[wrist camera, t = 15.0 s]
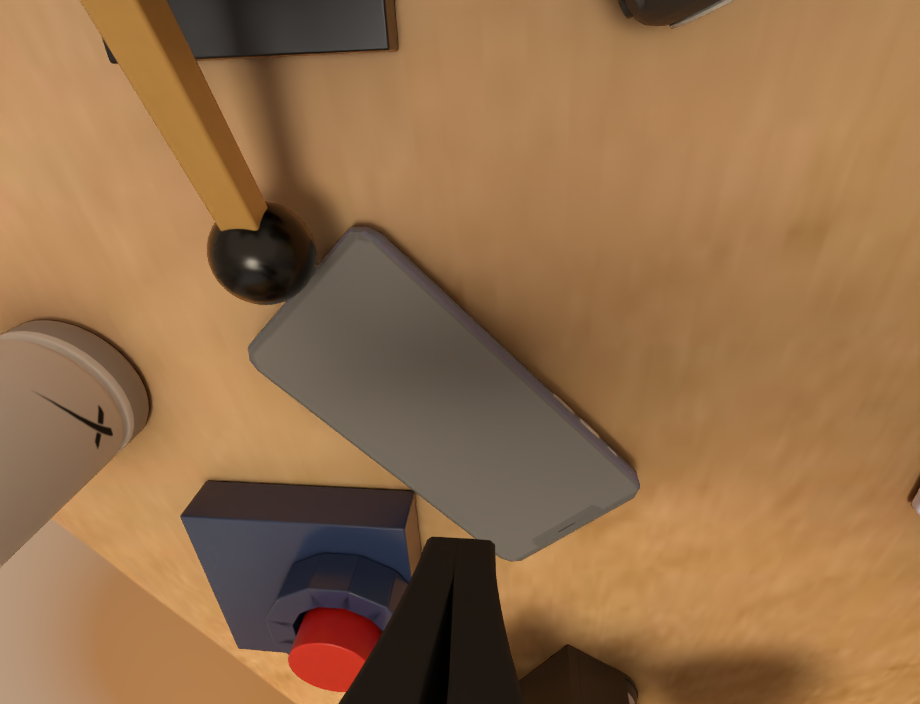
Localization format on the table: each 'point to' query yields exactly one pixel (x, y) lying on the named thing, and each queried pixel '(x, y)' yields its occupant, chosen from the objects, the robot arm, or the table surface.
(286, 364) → the smartphone
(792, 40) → the table surface
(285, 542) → the control box
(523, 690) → the light fixture
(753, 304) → the table surface
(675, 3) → the toy vehicle
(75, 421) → the travel mug
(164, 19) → the switch lever
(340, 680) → the red button
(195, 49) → the switch bracket
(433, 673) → the robot arm
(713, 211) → the table surface
